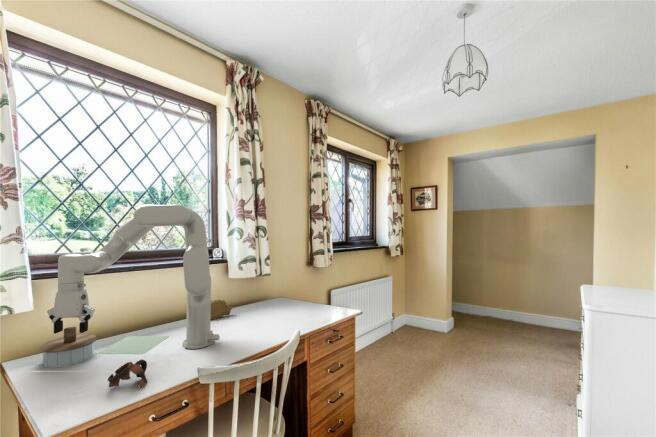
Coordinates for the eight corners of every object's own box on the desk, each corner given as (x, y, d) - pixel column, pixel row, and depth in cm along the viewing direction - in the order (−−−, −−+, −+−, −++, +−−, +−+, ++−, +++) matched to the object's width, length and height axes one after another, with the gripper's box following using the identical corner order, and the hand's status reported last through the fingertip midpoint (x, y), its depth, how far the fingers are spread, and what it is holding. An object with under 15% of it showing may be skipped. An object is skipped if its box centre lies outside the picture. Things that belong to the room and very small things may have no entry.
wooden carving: (228, 314, 172) (229, 296, 172) (232, 316, 169) (232, 298, 169) (199, 320, 161) (199, 301, 161) (202, 322, 158) (202, 303, 158)
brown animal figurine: (138, 396, 90) (121, 375, 88) (113, 407, 91) (96, 387, 90) (160, 367, 102) (146, 348, 100) (138, 377, 103) (124, 359, 101)
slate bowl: (101, 352, 120) (102, 337, 120) (71, 368, 106) (71, 351, 106) (67, 352, 120) (67, 336, 120) (32, 368, 106) (32, 351, 106)
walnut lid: (106, 336, 121) (106, 321, 121) (72, 352, 105) (73, 336, 105) (67, 336, 121) (67, 321, 122) (27, 352, 105) (27, 336, 106)
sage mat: (169, 337, 136) (169, 336, 136) (143, 354, 117) (143, 353, 117) (128, 336, 137) (128, 336, 137) (95, 354, 118) (95, 353, 118)
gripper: (101, 284, 118) (101, 328, 117) (57, 285, 118) (57, 329, 117) (85, 288, 110) (85, 335, 110) (39, 289, 110) (38, 336, 110)
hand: (71, 332), depth 114 cm, fingers open, 9 cm apart
